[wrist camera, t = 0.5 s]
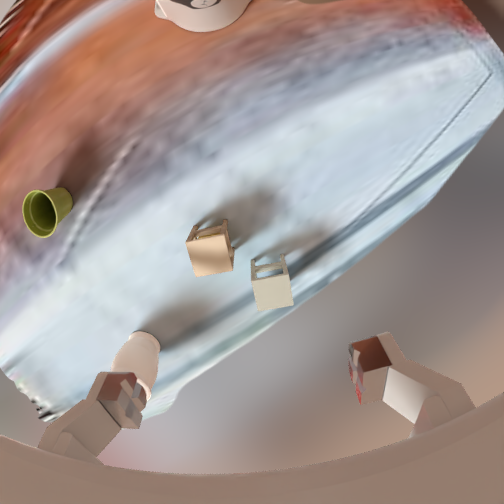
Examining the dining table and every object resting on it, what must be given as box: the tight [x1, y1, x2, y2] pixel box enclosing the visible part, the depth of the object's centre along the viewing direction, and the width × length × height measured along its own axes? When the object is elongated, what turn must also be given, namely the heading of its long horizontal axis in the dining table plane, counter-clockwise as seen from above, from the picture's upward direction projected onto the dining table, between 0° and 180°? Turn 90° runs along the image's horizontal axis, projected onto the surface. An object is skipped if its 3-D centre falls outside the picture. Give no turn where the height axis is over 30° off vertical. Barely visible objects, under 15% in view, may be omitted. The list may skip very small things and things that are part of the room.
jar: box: [110, 331, 160, 401], centre depth 59 cm, size 11×10×15 cm
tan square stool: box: [186, 219, 235, 277], centre depth 52 cm, size 6×6×8 cm
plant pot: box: [22, 187, 73, 238], centre depth 47 cm, size 9×9×9 cm
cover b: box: [251, 254, 293, 311], centre depth 55 cm, size 6×6×8 cm
